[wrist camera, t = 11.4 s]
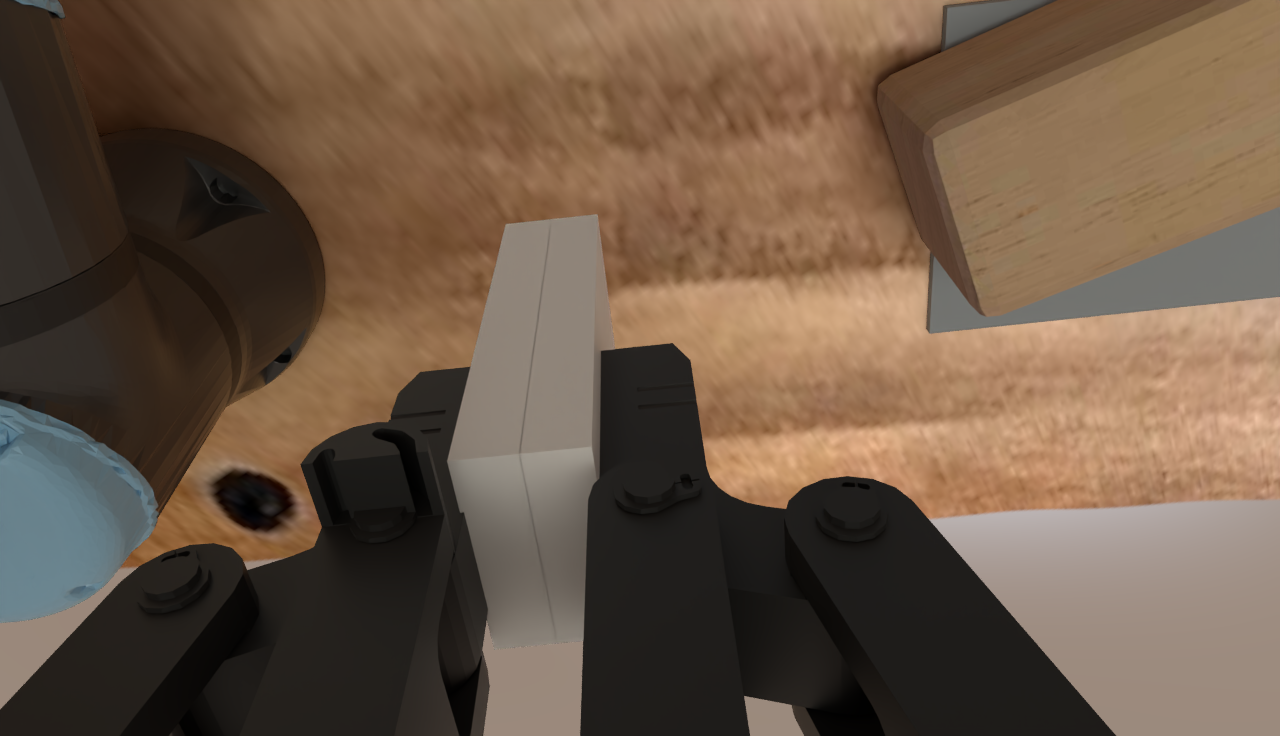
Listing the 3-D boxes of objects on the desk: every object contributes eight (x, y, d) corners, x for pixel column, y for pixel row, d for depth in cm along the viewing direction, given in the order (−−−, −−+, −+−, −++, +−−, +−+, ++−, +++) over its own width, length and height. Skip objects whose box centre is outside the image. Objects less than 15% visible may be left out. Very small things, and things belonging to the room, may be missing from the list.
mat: (926, 328, 56) (929, 333, 55) (943, 5, 47) (947, 7, 46) (1307, 288, 55) (1314, 293, 55) (1399, -47, 46) (1408, -45, 46)
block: (921, 246, 52) (1297, 92, 49) (982, 331, 44) (1446, 152, 40) (865, 78, 48) (1278, -106, 44) (923, 137, 39) (1441, -87, 36)
